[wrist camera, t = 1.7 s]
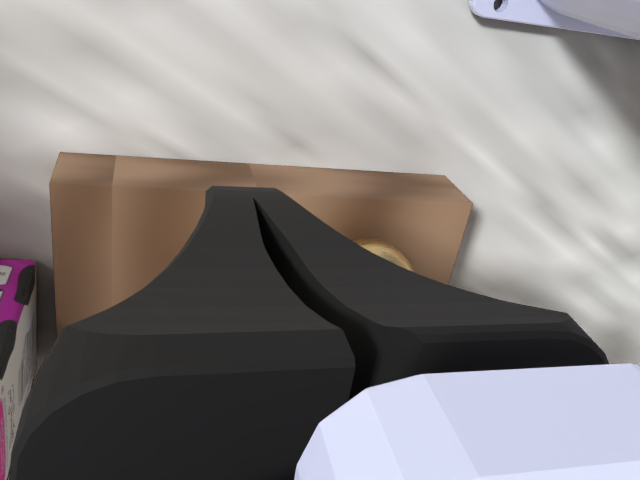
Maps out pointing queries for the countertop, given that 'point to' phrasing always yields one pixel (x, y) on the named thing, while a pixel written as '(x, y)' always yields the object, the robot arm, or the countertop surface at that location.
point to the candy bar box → (15, 349)
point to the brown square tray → (188, 205)
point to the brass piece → (385, 251)
